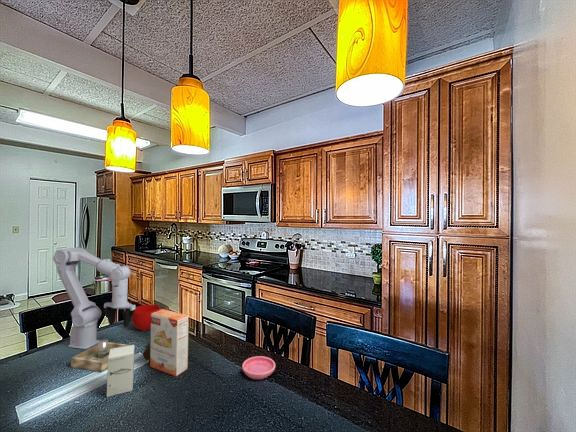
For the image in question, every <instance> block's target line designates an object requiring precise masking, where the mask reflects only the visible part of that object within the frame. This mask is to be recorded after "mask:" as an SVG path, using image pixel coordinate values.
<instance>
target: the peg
mask: <svg viewBox="0 0 576 432" xmlns="http://www.w3.org/2000/svg"><path fill="white" fill-rule="evenodd" d="M99 340H100V341H99V342H98V343H97V345H98V358H101V359H103V358H104V357H106V356H108V342H109V340H108V339H99Z"/></svg>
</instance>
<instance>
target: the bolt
mask: <svg viewBox="0 0 576 432" xmlns="http://www.w3.org/2000/svg"><path fill="white" fill-rule="evenodd" d="M150 349H151V340H150V341H149V343H148V346H146V347H145V349H144V351H143V352H142V358H143V359H144V360H145V361H150Z"/></svg>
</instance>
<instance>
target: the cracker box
mask: <svg viewBox="0 0 576 432" xmlns="http://www.w3.org/2000/svg"><path fill="white" fill-rule="evenodd" d="M189 323H190V322H189V315H188V314H186V313H185V314H184V313H179V312H176V311H173V310H172V311H171V310H168V309H164V308H163V309H160V311H156V312H154V313H151V329H150V341H151V349H150V360H149V361H150V362H149V367H150V368H153V369H155V370H159V371H161V372H163V373H165V374H169V375H171V376H173V377H178V376H179V375H181V374H182V373H184V372H185V371H187V370H188V369H189V368H188V367H189V366H188V365H189V358H188V357H189Z"/></svg>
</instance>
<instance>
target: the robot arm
mask: <svg viewBox="0 0 576 432" xmlns="http://www.w3.org/2000/svg"><path fill="white" fill-rule="evenodd" d="M52 260H53V262H54V264H55V266H56V272H57V274H58V277H59V278H60V281H61V283H62V285H63V287H64V289H65V291H66V293H67V295H68V298H69V300H70V301H71V304H72V305H73V309H72V311H71V312H70V316H71V321H72V324H73V326H72V327H71V329H70V335H69V336H70V337H69V345H68V346H67V348H73V349H81V350H88V349H90V348H92V347H94V346H96V345H98V342H99V341H100V340H101V339H97V337H98V335H97V334H98V330H97V329H98V322H99V319H100V318H101V316H102V310H101V308H100V307H98V306H97V305H96V302H93V301H92V300H89V298H88V296H87V293H86V292H85V290H84V288H83V286H82V284H81V282H80V280H79V278H78V276H77V273H76V271H75V269H76V267H77V266H78V265H79V263H80V262H83V263H86V264H87V265H90V266H92V267H95V269H96V270H97V271H98V272H100V273H102V274H104V275H106V276H108V277H109V279H110V280H111V285H112V288H111V289H112V290H111V291H112V294H111V296H112V298H111V302H109V301H108V302H104V304H103V313H104V314H105V316H106V318H107V321H108V325H109V326H112V325H114V324H115V323H116V315H117V310H123V311H121V315H122V318H123V327H124V328H126V327H129V326H130V323H131V321H132V315H133V313H134V312H135V307H136V304H132V303H130V302H129V301H128V293H129V292H128V290H129V289H128V287H129V286H128V285H129V284H128V283H129V281H128V279H129V278H130V277H131V275H132V270H131V268H130V267H129V266H128V265H121V264H120V263H115V262H113V261H112V260H111V259H110V258H106V259H105V258H104V259H100V258H99V257H97V256H96V255H94V254H91V253H89V252H88V251H87V249H85V248H82V247H79V246H77V247H76V246H75V247H70V248H64V249H63V248H62V249H61V248H60V249H58V250H56V251H55V252H54V254H53V257H52Z"/></svg>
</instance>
